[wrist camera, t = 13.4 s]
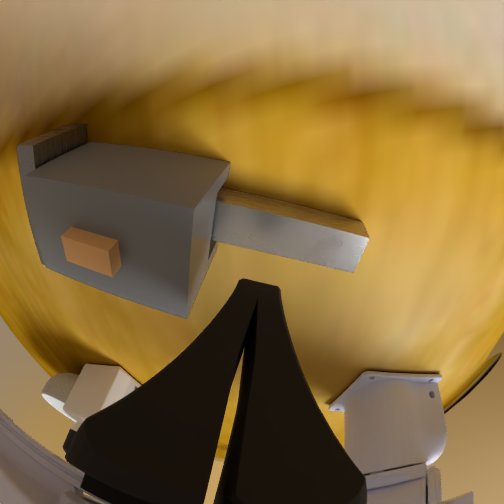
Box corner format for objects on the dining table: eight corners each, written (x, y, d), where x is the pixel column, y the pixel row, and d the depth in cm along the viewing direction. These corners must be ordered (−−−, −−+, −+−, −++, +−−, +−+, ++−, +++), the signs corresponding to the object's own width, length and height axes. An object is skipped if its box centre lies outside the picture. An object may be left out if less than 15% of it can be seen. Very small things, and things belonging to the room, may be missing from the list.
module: (230, 162, 12) (186, 220, 7) (216, 250, 15) (181, 331, 10) (91, 141, 12) (13, 182, 7) (96, 219, 15) (38, 275, 10)
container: (121, 394, 31) (92, 467, 21) (84, 362, 28) (45, 442, 17) (160, 399, 29) (130, 486, 18) (120, 365, 25) (77, 463, 15)
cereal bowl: (131, 417, 39) (120, 448, 34) (56, 368, 34) (39, 398, 28) (173, 410, 31) (159, 454, 25) (67, 342, 26) (42, 386, 20)
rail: (380, 175, 11) (412, 215, 8) (332, 289, 15) (338, 346, 12) (68, 124, 11) (16, 145, 8) (78, 228, 15) (41, 263, 12)
